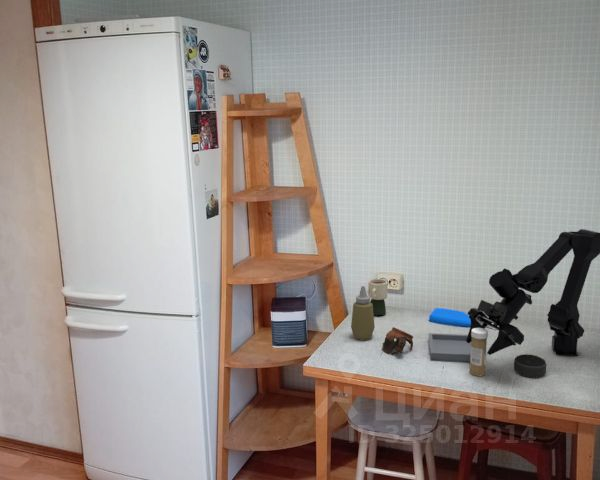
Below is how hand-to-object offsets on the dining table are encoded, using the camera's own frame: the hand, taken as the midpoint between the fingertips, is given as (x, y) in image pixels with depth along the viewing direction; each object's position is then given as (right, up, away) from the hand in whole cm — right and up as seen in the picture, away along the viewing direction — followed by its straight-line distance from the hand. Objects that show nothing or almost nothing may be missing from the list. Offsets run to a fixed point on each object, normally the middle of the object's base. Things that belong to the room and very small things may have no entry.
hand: (477, 348), depth 170 cm
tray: (-2, -4, +17) cm, 18 cm away
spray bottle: (+8, +1, +42) cm, 42 cm away
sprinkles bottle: (0, -8, +2) cm, 8 cm away
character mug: (-22, +3, +51) cm, 56 cm away
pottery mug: (-20, -4, +18) cm, 28 cm away
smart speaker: (+16, -8, +2) cm, 18 cm away
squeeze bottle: (-30, -2, +30) cm, 42 cm away
